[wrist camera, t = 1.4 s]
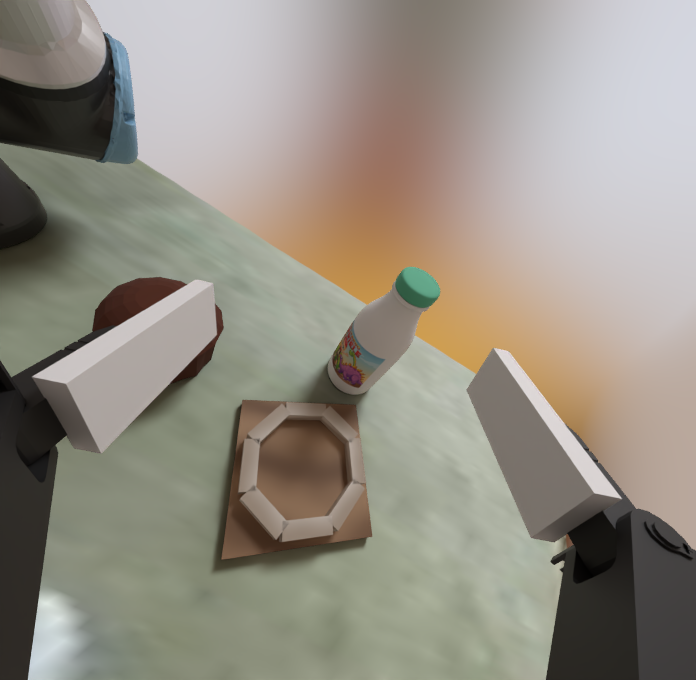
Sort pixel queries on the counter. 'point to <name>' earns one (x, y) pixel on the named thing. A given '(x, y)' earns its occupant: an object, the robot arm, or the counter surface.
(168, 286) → the muffin
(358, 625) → the counter surface
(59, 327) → the counter surface
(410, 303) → the milk bottle
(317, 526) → the ring stand
